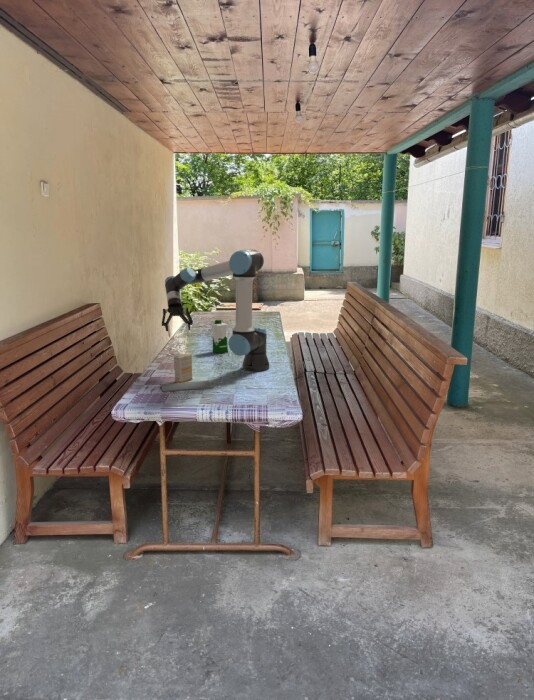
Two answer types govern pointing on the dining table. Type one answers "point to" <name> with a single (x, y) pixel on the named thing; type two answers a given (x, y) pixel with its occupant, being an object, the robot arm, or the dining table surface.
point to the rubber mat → (186, 386)
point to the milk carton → (220, 337)
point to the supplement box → (183, 368)
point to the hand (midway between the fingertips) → (178, 335)
